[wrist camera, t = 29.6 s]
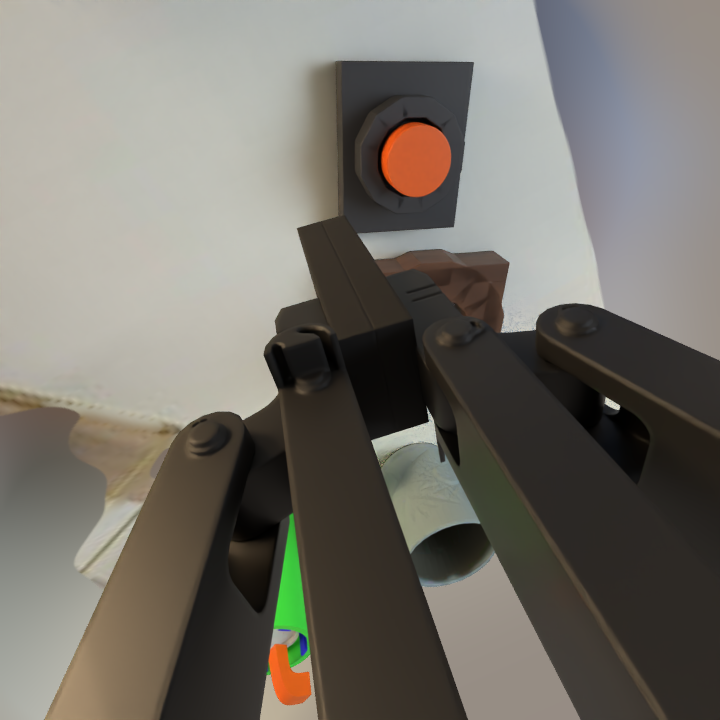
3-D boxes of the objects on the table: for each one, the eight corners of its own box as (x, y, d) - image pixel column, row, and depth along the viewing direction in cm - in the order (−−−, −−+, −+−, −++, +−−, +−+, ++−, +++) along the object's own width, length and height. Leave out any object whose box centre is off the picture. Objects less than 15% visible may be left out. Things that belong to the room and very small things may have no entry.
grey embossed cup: (391, 507, 57) (422, 599, 47) (359, 461, 51) (387, 555, 41) (462, 472, 56) (509, 558, 46) (439, 422, 50) (486, 508, 40)
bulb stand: (345, 255, 37) (352, 269, 35) (499, 244, 40) (516, 256, 37) (347, 390, 45) (353, 408, 42) (476, 373, 47) (488, 389, 45)
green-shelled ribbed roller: (244, 497, 50) (245, 676, 35) (311, 503, 53) (338, 671, 38) (224, 548, 54) (217, 728, 39) (287, 551, 57) (303, 719, 42)
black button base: (335, 61, 29) (347, 60, 26) (462, 62, 31) (487, 62, 28) (339, 226, 36) (348, 242, 32) (444, 220, 37) (464, 234, 34)
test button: (381, 122, 29) (388, 125, 27) (445, 121, 30) (455, 124, 28) (379, 193, 31) (386, 199, 30) (438, 190, 32) (447, 195, 31)
